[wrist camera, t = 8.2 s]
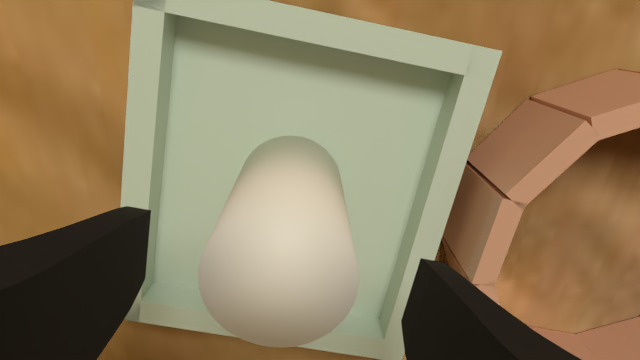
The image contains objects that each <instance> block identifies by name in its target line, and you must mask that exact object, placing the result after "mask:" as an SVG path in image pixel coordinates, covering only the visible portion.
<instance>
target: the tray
mask: <svg viewBox="0 0 640 360" xmlns="http://www.w3.org/2000/svg"><path fill="white" fill-rule="evenodd" d="M501 54H502V51H499V50H495V49H490V48H485V47H481V46H476V45H471V44H467V43H462V42H458V41H453V40H448V39H444V38H439V37H435V36H430V35H425V34H421V33H416V32H412V31H407V30H402V29H398V28H393V27H389V26H384V25H379V24H375V23H370V22H366V21H361V20H356V19H352V18H347V17H342V16H338V15H333V14H329V13H324V12H319V11H315V10H310V9H306V8H301V7H296V6H292V5H287V4H283V3H278V2H273V1H269V0H133V9H132V25H131V42H130V58H129V75H128V92H127V108H126V125H125V141H124V158H123V174H122V191H121V207H126V206H129V207H135V208H141V209H146V210H151V217H150V229H149V241H148V252H147V264H146V276H145V280H144V282H143V284H142V287H141V289H140V291H139V293H138V295H137V297H136V299H135V301H134V303H133V305H132V307H131V309H130V311H129V312H128V314H127V315H126V317H125V318H124V320H128V321H135V322H141V323H148V324H154V325H161V326H167V327H174V328H180V329H186V330H193V331H199V332H206V333H212V334H219V335H225V336H232V337H236V336H235V335H233V334H231V333H230V332H228V331H227V330H226V329H224V328H223V327H222V326H221V325H220V324H219V323H218V322H217V321H216V320H215V319H214V318H213V317H212V315H211V314H210V313H209V311H208V309H207V308H206V306H205V304H204V302H203V299H202V297H201V294H200V290H199V283H198V269H199V264H200V260H201V257H202V254H203V252H204V249H205V247H206V245H207V243H208V241H209V239H210V236H211V234H212V232H213V230H214V228H215V226H216V223H217V221H218V219H219V217H220V215H221V213H222V210H223V208H224V206H225V204H226V202H227V200H228V197H229V195H230V193H231V191H232V189H233V187H234V184H235V182H236V180H237V178H238V176H239V174H240V171H241V169H242V167H243V165H244V163H245V161H246V159H247V158H248V156H249V155H250V154H251V152H252V151H253V150H254V149H255V148H256V147H258V146H259V145H260V144H262V143H264V142H265V141H267V140H270V139H272V138H276V137H280V136H300V137H304V138H308V139H310V140H313V141H314V142H316V143H318V144H320V145H321V146H322V147H324V148H325V149H326V150H327V151H328V152H329V153H330V154H331V156H332V157H333V158H334V160H335V162H336V164H337V166H338V168H339V172H340V176H341V181H342V186H343V192H344V197H345V202H346V208H347V213H348V218H349V224H350V229H351V234H352V240H353V245H354V250H355V256H356V261H357V266H358V274H359V286H358V292H357V296H356V299H355V302H354V304H353V306H352V308H351V310H350V312H349V313H348V315H347V316H346V318H345V319H344V320H343V321H342V322H341V323H340V324H339V325H338V326H337V327H336V328H335V329H334V330H332V331H331V332H330V333H328V334H327V335H325V336H323V337H321V338H319V339H317V340H315V341H313V342H310V343H307V344H304V345H299V346H296V347H303V348H309V349H315V350H322V351H328V352H335V353H341V354H348V355H354V356H361V357H367V358H373V359H380V360H402V359H403V356H404V353H405V349H404V342H403V334H402V325H401V320H402V317H403V313H404V310H405V307H406V304H407V301H408V297H409V294H410V291H411V288H412V285H413V281H414V278H415V275H416V272H417V269H418V265H419V262H420V259H421V258H422V259H428V260H433V261H434V260H435V257H436V254H437V251H438V248H439V245H440V242H441V239H442V236H443V233H444V230H445V226H446V223H447V220H448V217H449V214H450V211H451V208H452V205H453V202H454V199H455V196H456V193H457V190H458V186H459V183H460V180H461V177H462V174H463V171H464V168H465V165H466V162H467V159H468V156H469V153H470V150H471V146H472V143H473V140H474V137H475V134H476V131H477V128H478V125H479V122H480V119H481V116H482V113H483V110H484V106H485V103H486V100H487V97H488V94H489V91H490V88H491V85H492V82H493V79H494V76H495V73H496V70H497V66H498V63H499V60H500V57H501ZM121 207H120V208H121Z"/></svg>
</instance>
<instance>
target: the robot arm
mask: <svg viewBox="0 0 640 360" xmlns="http://www.w3.org/2000/svg"><path fill="white" fill-rule="evenodd" d="M150 217H151V210H146V209H141V208H135V207H129V206H126V207H121V208H117V209H114V210H111V211H108V212H105V213H102V214H100V215H97V216H94V217H91V218H88V219H86V220H83V221H80V222H77V223H74V224H71V225H69V226H66V227H63V228H60V229H56V230H53V231H50V232H47V233H44V234H40V235H37V236H34V237H31V238H28V239H24V240H21V241H17V242H13V243H9V244H6V245H2V246H0V360H97V358H98V357H99V355H100V354H101V352H102V351H103V349H104V348H105V346H106V345H107V343H108V342H109V341H110V339H111V338H112V336H113V335H114V333H115V332H116V330H117V329H118V327H119V326H120V324H121V323H122V321H123V320H124V318H125V317H126V315H127V314H128V312H129V311H130V309H131V307H132V305H133V303H134V301H135V299H136V297H137V295H138V293H139V291H140V289H141V287H142V284H143V282H144V280H145V276H146V264H147V252H148V241H149V229H150ZM401 325H402V334H403V342H404V349H405V355H406V359H407V360H582V359H580V358H578V357H576V356H575V355H573V354H571V353H569V352H568V351H566V350H564V349H563V348H561V347H559V346H558V345H556V344H555V343H553V342H551V341H550V340H548V339H547V338H545V337H543V336H542V335H540V334H539V333H537V332H536V331H534V330H533V329H531V328H530V327H528V326H527V325H526V324H524V323H523V322H521V321H520V320H519V319H517V318H516V317H514V316H513V315H512V314H510V313H509V312H508V311H506V310H505V309H504V308H502V307H501V306H500V305H498V304H497V303H496V302H495V301H493V300H492V299H491V298H489V297H488V296H487V295H486V294H484V293H483V292H482V291H481V290H479V289H478V288H477V287H476V286H474V285H473V284H472V283H471V282H469V281H468V280H467V279H466V278H464V277H463V276H462V275H461V274H459V273H458V272H457V271H455V270H454V269H453V268H451V267H450V266H448V265H447V264H445V263H443V262H439V261H433V260H428V259H422V258H421V259H420V262H419V265H418V269H417V272H416V275H415V278H414V281H413V285H412V288H411V291H410V294H409V297H408V301H407V304H406V307H405V310H404V313H403V317H402V320H401Z"/></svg>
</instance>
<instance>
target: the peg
mask: <svg viewBox="0 0 640 360" xmlns="http://www.w3.org/2000/svg"><path fill="white" fill-rule="evenodd" d="M198 283H199V290H200V294H201V297H202V299H203V302H204V304H205V306H206V308H207V309H208V311H209V313H210V314H211V315H212V317H213V318H214V319H215V320H216V321H217V322H218V323H219V324H220V325H221V326H222V327H223V328H224V329H226V330H227V331H228V332H230V333H231V334H233V335H235V336H236V337H238V338H240V339H242V340H245V341H247V342H250V343H253V344H256V345H261V346H265V347H275V348H284V347H294V346H299V345H304V344H307V343H310V342H313V341H315V340H317V339H319V338H321V337H323V336H325V335H327V334H328V333H330V332H331V331H332V330H334V329H335V328H336V327H337V326H338V325H339V324H340V323H341V322H342V321H343V320H344V319H345V318H346V316H347V315H348V313H349V312H350V310H351V308H352V306H353V304H354V302H355V299H356V296H357V292H358V286H359V274H358V266H357V261H356V256H355V250H354V245H353V240H352V234H351V229H350V224H349V218H348V213H347V208H346V202H345V197H344V192H343V186H342V181H341V176H340V172H339V168H338V166H337V164H336V162H335V160H334V158H333V157H332V156H331V154H330V153H329V152H328V151H327V150H326V149H325V148H324V147H322V146H321V145H320V144H318V143H316V142H314V141H313V140H310V139H308V138H304V137H300V136H280V137H276V138H272V139H270V140H267V141H265V142H264V143H262V144H260V145H259V146H258V147H256V148H255V149H254V150H253V151H252V152H251V154H250V155H249V156H248V158H247V159H246V161H245V163H244V165H243V167H242V169H241V171H240V174H239V176H238V178H237V180H236V182H235V184H234V187H233V189H232V191H231V193H230V195H229V197H228V200H227V202H226V204H225V206H224V208H223V210H222V213H221V215H220V217H219V219H218V221H217V223H216V226H215V228H214V230H213V232H212V234H211V236H210V239H209V241H208V243H207V245H206V247H205V249H204V252H203V254H202V257H201V260H200V264H199V269H198Z"/></svg>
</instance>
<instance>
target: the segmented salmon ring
mask: <svg viewBox="0 0 640 360" xmlns="http://www.w3.org/2000/svg"><path fill="white" fill-rule="evenodd" d="M637 128H640V72H634V71H628V70H622V69H618V70H616V69H614V70H610V71H607V72H604V73H601V74H598V75H595V76H592V77H589V78H586V79H583V80H580V81H577V82H573V83H570V84H567V85H564V86H561V87H558V88H555V89H552V90H549V91H546V92H543V93H540V94H536V95H533V96H531V100H529V99H526V100H525V101H524V102H523V103H522V104H521V105H520V106H519V107H518V108H517V109H516V110H515V111H514V112H513V113H512V114H511V115H510V116H509V117H508V118H506V119H505V120H504V121H503V122H502V123H501V124H500V125H499V126H498V127H497V128H496V129H495V130H494V131H493V132H492V133H491V134H490V135H489V136H488V137H487V138H486V139H485V140H484V141H483V142H482V143H481V144H480V145H479V146H478V147H477V148H476V149H475V150H474V151H473V152H472V153H471V154H470V155H469V156H468V159H467V160H468V161H469V162H470V163H466V165H465V168H464V171H463V174H462V177H461V180H460V183H459V186H458V190H457V193H456V196H455V199H454V202H453V205H452V208H451V211H450V214H449V217H448V220H447V223H446V226H445V230H444V233H443V236H442V243H443V246H444V250H445V254H446V257H447V261H448V265H449V266H450V267H451V268H453V269H454V270H455V271H457V272H458V273H459V274H461V275H462V276H463V277H464V278H466V279H467V280H468V281H469V282H471V283H472V284H473V285H474V286H476V287H477V288H478V289H479V290H481V291H482V292H483V293H484V294H486V295H487V296H488V297H489V298H491V299H492V300H493V301H495V302H496V303H497V304H498V305H500V303H499V299H498V295H497V290H496V286H495V283H496V280H497V278H498V275H499V272H500V270H501V267H502V265H503V262H504V259H505V257H506V254H507V252H508V249H509V246H510V244H511V241H512V239H513V236H514V233H515V231H516V228H517V225H518V223H519V220H520V218H521V215H522V212H523V210H524V207H525V206H526V205H527V204H528V203H529V202H531V201H532V200H533V199H534V198H535V197H536V196H537V195H538V194H539V193H541V192H542V191H543V190H544V189H545V188H546V187H547V186H548V185H549V184H551V183H552V182H553V181H554V180H555V179H556V178H557V177H558V176H559V175H561V174H562V173H563V172H564V171H565V170H566V169H567V168H568V167H569V166H571V165H572V164H573V163H574V162H575V161H576V160H577V159H578V158H579V157H581V156H582V155H583V154H584V153H585V152H586V151H587V150H588V149H589V148H591V147H592V146H593V145H594V144H595V143H596V142H597V141H598V140H601V139H604V138H608V137H611V136H614V135H617V134H621V133H624V132H627V131H630V130H633V129H637ZM528 327H530V326H528ZM530 328H531V329H533V330H534V331H536V332H537V333H539V334H540V335H542V336H543V337H545V338H547V339H548V340H550V341H551V342H553V343H555V344H556V345H558V346H559V347H561V348H563V349H564V350H566V351H568V352H569V353H571V354H573V355H575V356H576V357H578V358H580V359H582V360H640V316H639V317H636V318H632V319H629V320H625V321H621V322H618V323H614V324H610V325H606V326H603V327H599V328H595V329H592V330H588V331H584V332H581V333H577V334H572V333H566V332H560V331H554V330H548V329H542V328H536V327H530Z"/></svg>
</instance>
